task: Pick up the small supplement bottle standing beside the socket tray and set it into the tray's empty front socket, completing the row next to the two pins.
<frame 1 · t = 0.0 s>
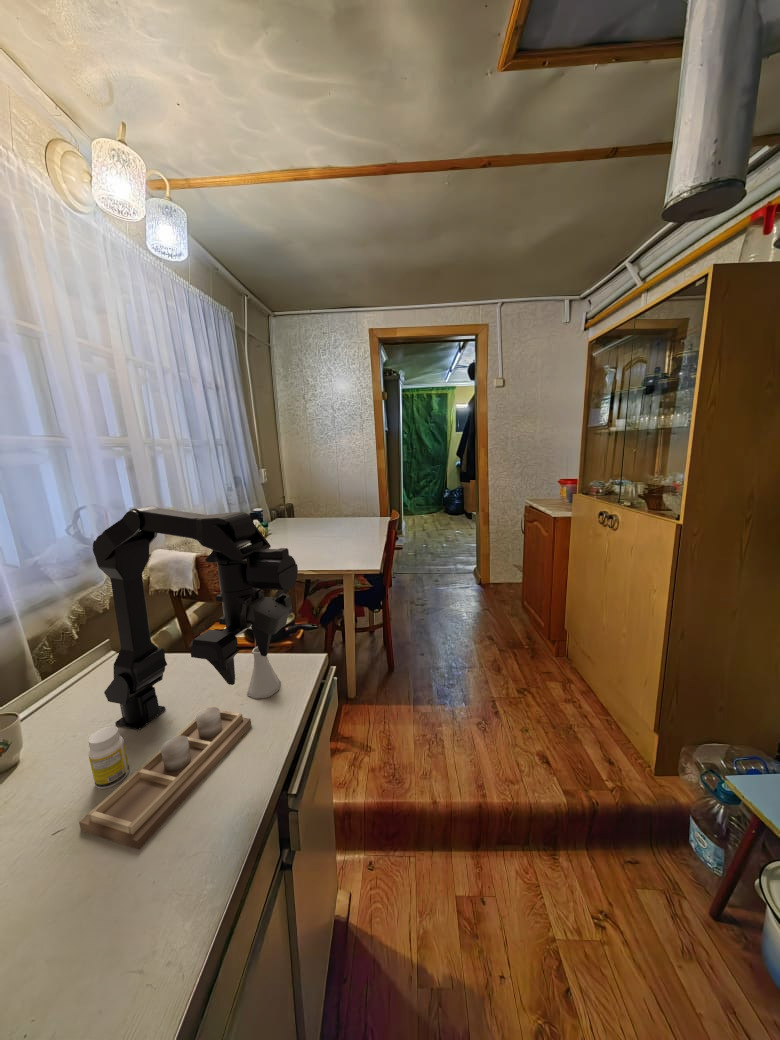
hand: (248, 669, 68), 15 cm above the table, tool pointing down, fingers open, 9 cm apart
socket tray: (179, 770, 65), on the table
flask: (264, 690, 86), on the table
supplement bottle: (113, 778, 64), on the table
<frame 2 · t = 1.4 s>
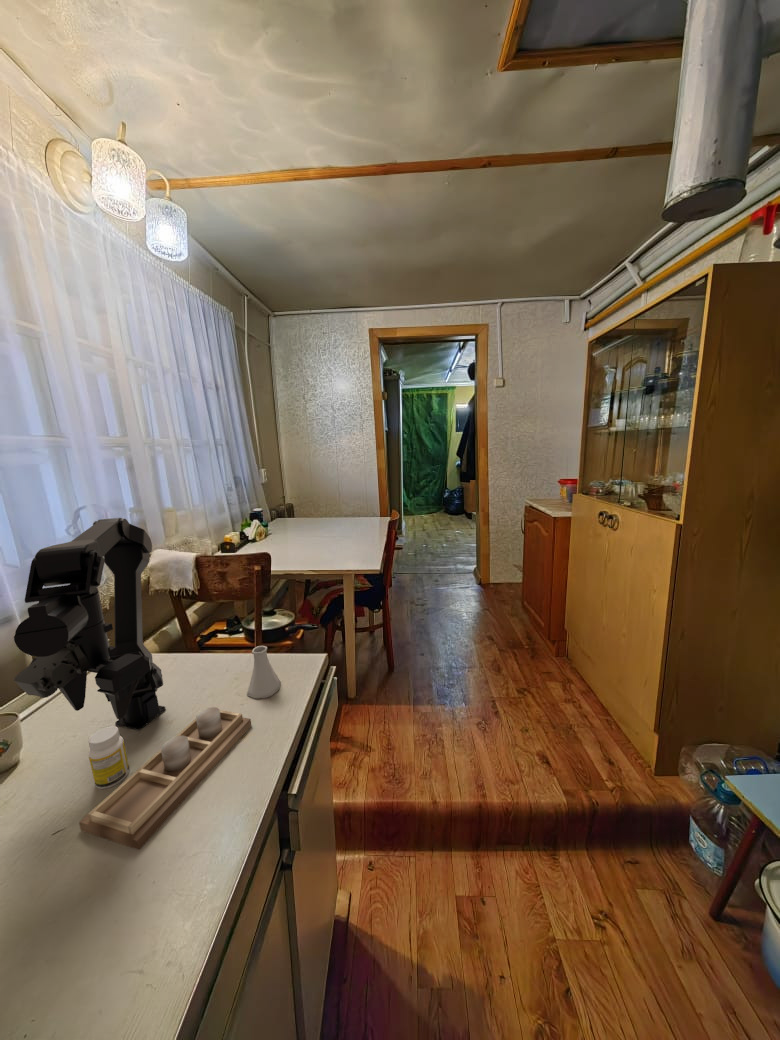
hand: (100, 713, 62), 12 cm above the table, tool pointing down, fingers open, 9 cm apart
nothing on the table moved.
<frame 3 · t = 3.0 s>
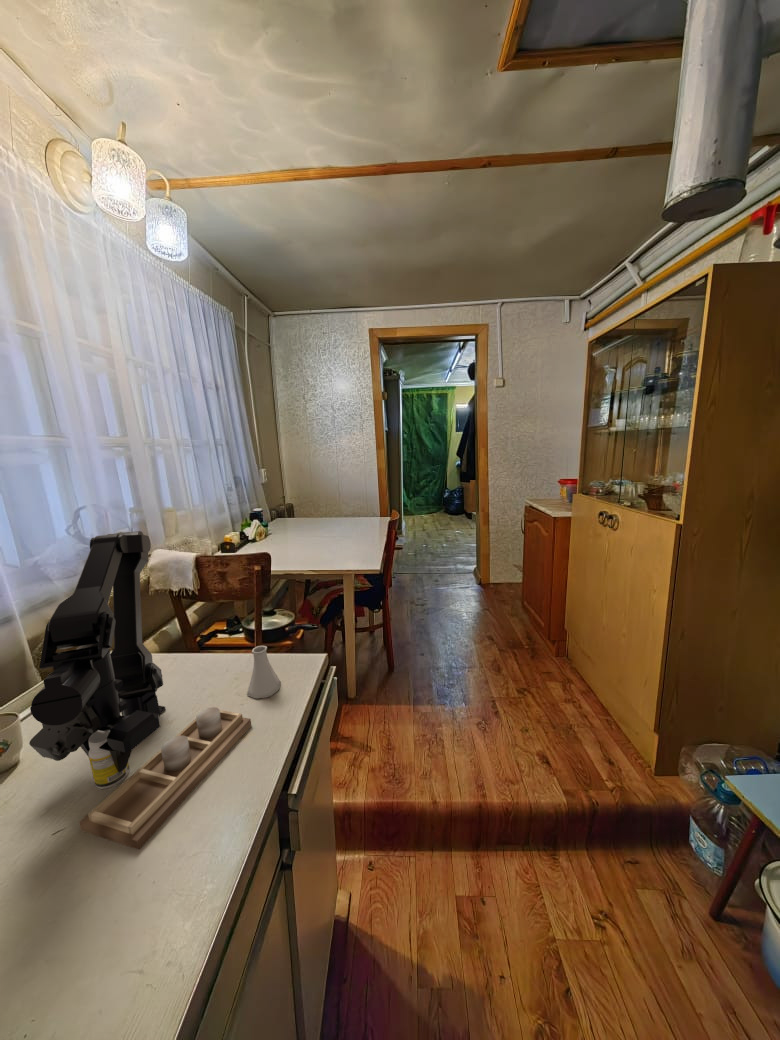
hand: (110, 767, 63), 2 cm above the table, tool pointing down, fingers closed on supplement bottle, 5 cm apart
supplement bottle: (113, 778, 64), on the table, touching gripper
everything else where it was.
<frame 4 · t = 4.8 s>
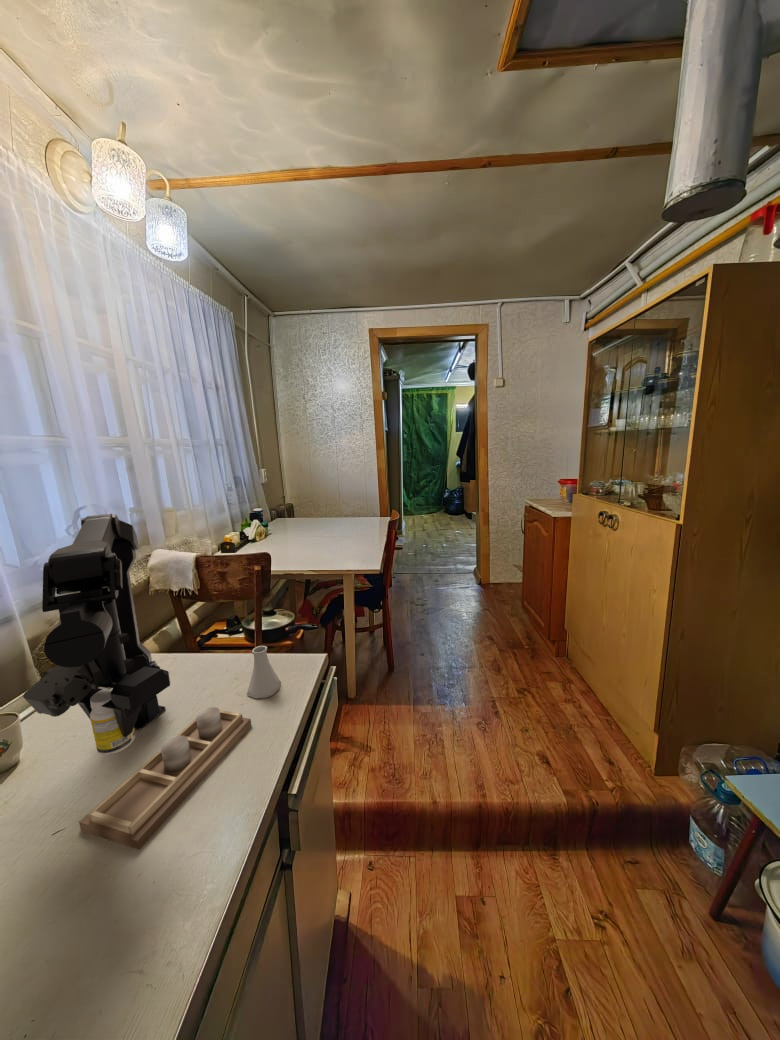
hand: (115, 732, 57), 12 cm above the table, tool pointing down, fingers closed on supplement bottle, 5 cm apart
supplement bottle: (117, 745, 57), point 10 cm above the table, touching gripper
everything else where it was.
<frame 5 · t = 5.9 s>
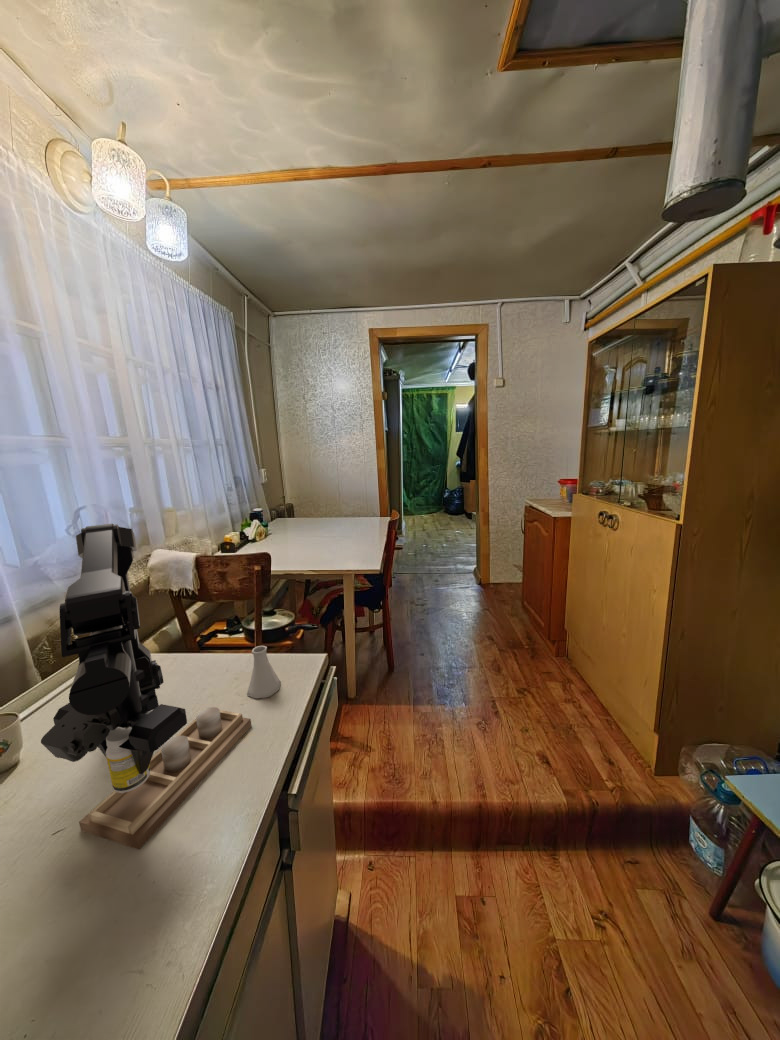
hand: (130, 768, 56), 7 cm above the table, tool pointing down, fingers closed on supplement bottle, 5 cm apart
supplement bottle: (132, 781, 57), point 5 cm above the table, touching gripper
everything else where it was.
when the fingers open (4 cm above the table, at t = 6.8 s): supplement bottle stays where it is, resting on socket tray.
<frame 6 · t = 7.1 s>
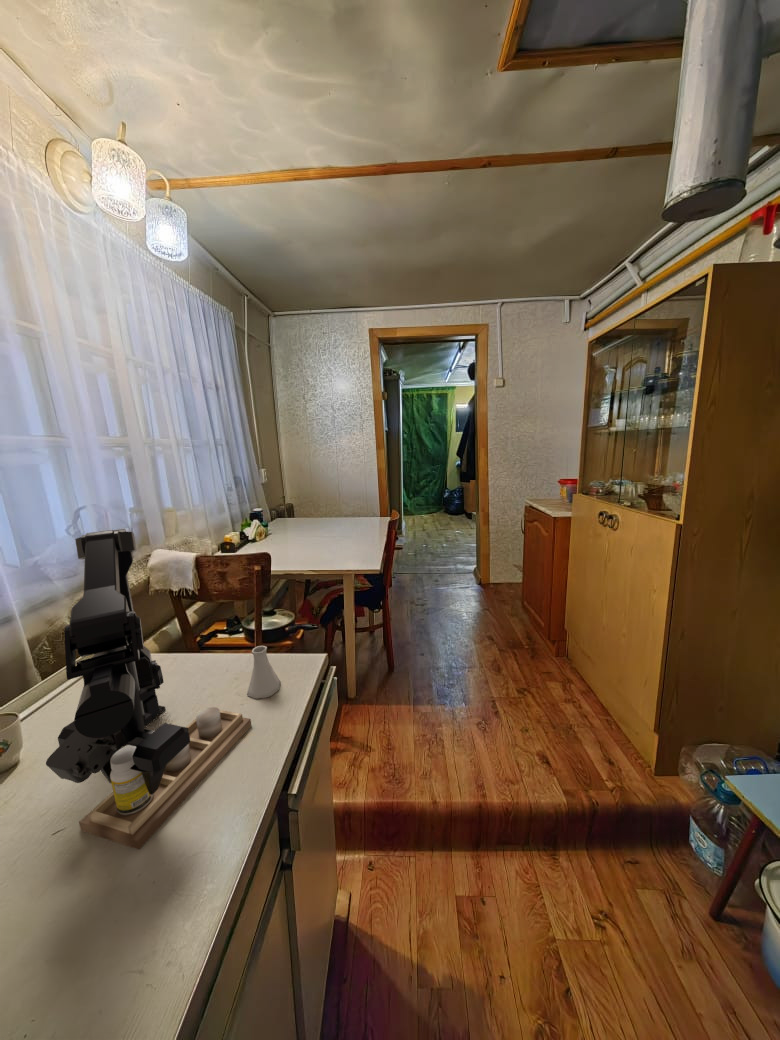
hand: (134, 786, 57), 4 cm above the table, tool pointing down, fingers open, 7 cm apart
supplement bottle: (136, 802, 57), point 1 cm above the table, touching socket tray
everything else where it was.
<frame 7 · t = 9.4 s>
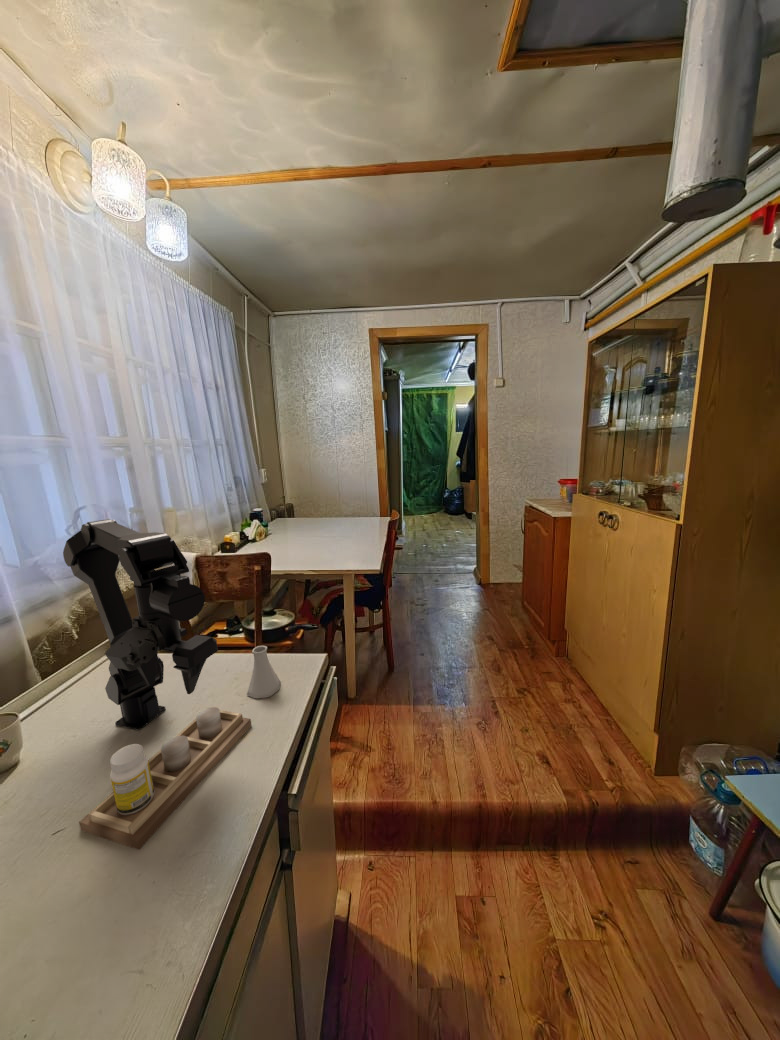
hand: (170, 688, 68), 12 cm above the table, tool pointing down, fingers open, 9 cm apart
nothing on the table moved.
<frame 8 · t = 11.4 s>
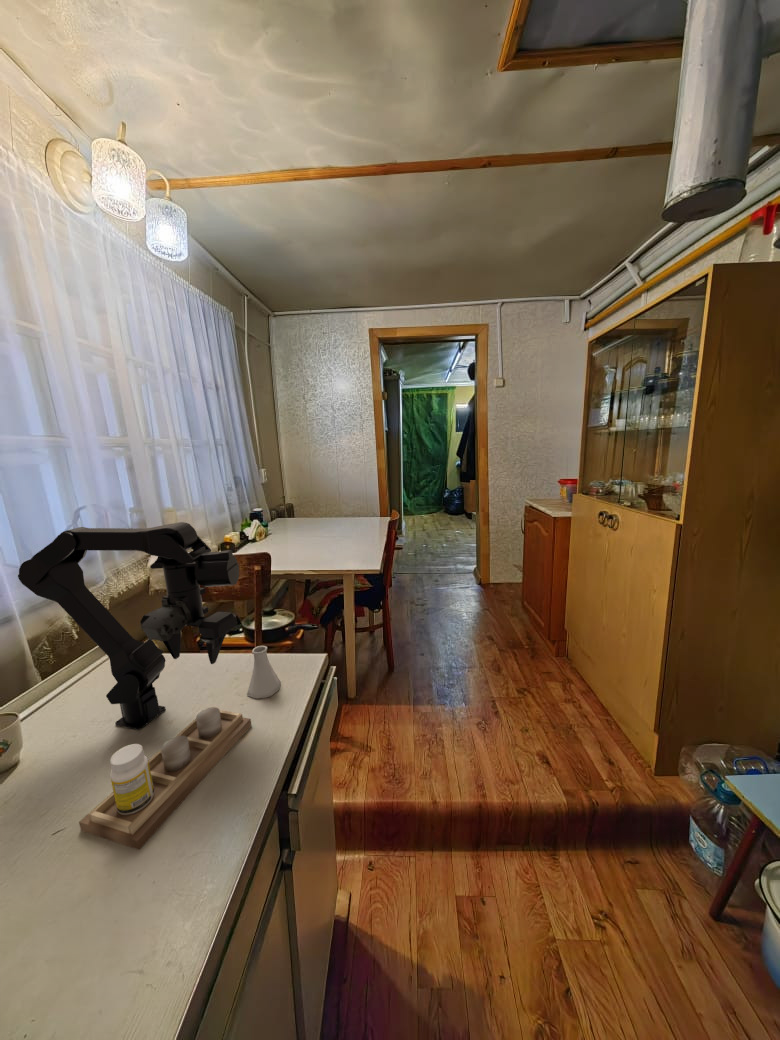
hand: (194, 660, 77), 12 cm above the table, tool pointing down, fingers open, 9 cm apart
nothing on the table moved.
at the end: supplement bottle 0.1 cm from the target spot on the socket tray, point 1.3 cm above the socket tray's base; supplement bottle tilted 0°; the gripper is holding nothing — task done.
